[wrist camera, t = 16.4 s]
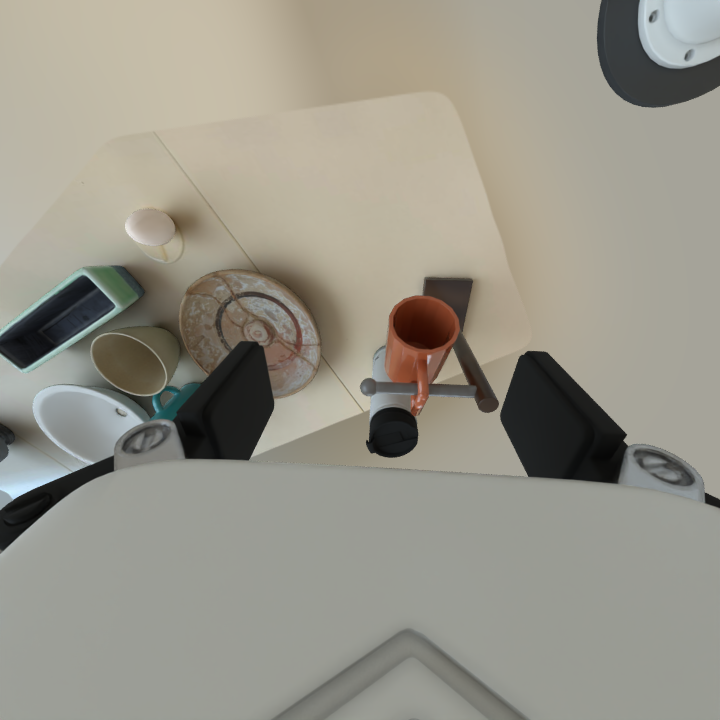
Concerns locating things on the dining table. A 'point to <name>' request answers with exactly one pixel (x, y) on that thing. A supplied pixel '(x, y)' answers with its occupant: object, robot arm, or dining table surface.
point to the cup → (172, 401)
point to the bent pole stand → (457, 298)
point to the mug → (419, 343)
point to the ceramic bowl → (251, 326)
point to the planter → (67, 315)
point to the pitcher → (5, 441)
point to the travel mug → (390, 417)
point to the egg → (150, 227)
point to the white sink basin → (85, 419)
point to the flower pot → (136, 358)
